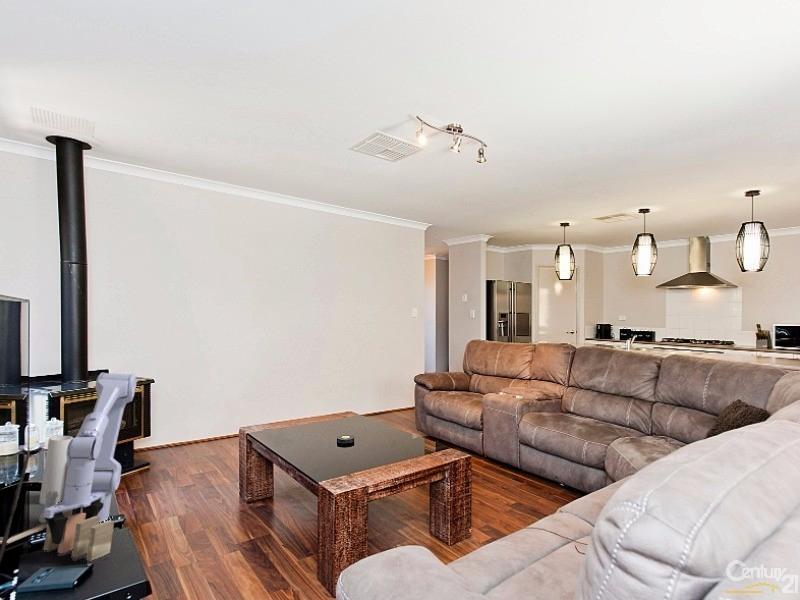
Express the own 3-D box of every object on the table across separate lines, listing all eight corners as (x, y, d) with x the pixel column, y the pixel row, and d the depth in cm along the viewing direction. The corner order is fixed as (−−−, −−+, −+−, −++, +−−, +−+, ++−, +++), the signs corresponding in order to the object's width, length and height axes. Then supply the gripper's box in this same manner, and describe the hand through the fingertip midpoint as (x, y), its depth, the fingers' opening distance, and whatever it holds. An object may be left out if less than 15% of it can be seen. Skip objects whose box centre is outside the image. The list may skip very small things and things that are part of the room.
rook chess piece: (37, 519, 132) (41, 491, 133) (56, 516, 135) (60, 488, 136) (39, 524, 129) (43, 496, 130) (58, 521, 132) (62, 493, 133)
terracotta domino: (57, 555, 114) (62, 518, 114) (76, 547, 118) (81, 512, 119) (61, 557, 113) (67, 520, 114) (80, 548, 118) (86, 513, 119)
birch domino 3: (85, 565, 110) (91, 527, 111) (104, 556, 115) (109, 520, 116) (90, 566, 110) (95, 528, 111) (109, 557, 115) (114, 521, 115)
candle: (37, 505, 141) (47, 441, 143) (41, 497, 148) (50, 436, 149) (80, 501, 147) (89, 439, 149) (82, 494, 153) (91, 434, 155)
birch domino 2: (71, 560, 112) (76, 523, 113) (90, 551, 117) (95, 516, 118) (75, 561, 112) (81, 524, 112) (94, 553, 116) (99, 517, 117)
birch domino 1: (43, 551, 115) (48, 514, 116) (63, 543, 120) (68, 508, 121) (47, 552, 115) (53, 516, 115) (67, 544, 119) (72, 509, 120)
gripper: (61, 494, 109) (53, 552, 108) (115, 478, 123) (108, 530, 122) (41, 489, 111) (33, 545, 110) (97, 474, 125) (89, 524, 124)
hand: (71, 537), depth 116 cm, fingers open, 7 cm apart
